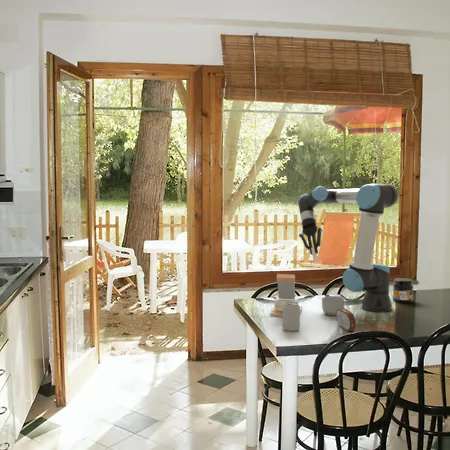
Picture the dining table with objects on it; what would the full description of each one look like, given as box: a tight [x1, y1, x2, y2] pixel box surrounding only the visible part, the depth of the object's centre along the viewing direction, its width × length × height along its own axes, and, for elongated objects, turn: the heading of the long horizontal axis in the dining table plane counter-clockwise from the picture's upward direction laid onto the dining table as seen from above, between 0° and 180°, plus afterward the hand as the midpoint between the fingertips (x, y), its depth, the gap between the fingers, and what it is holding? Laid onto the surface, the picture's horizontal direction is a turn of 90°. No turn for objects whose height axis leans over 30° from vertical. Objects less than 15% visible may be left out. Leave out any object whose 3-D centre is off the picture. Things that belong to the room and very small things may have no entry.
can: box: [282, 302, 301, 333], centre depth 243 cm, size 8×8×12 cm
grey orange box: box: [276, 273, 296, 299], centre depth 270 cm, size 3×9×14 cm
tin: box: [336, 307, 357, 332], centre depth 245 cm, size 15×3×8 cm, turn 12°
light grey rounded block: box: [321, 295, 345, 316], centre depth 273 cm, size 14×11×8 cm
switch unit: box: [269, 296, 303, 318], centre depth 274 cm, size 18×14×6 cm
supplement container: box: [392, 277, 414, 304], centre depth 301 cm, size 10×10×12 cm
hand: (315, 259), depth 288 cm, fingers closed
